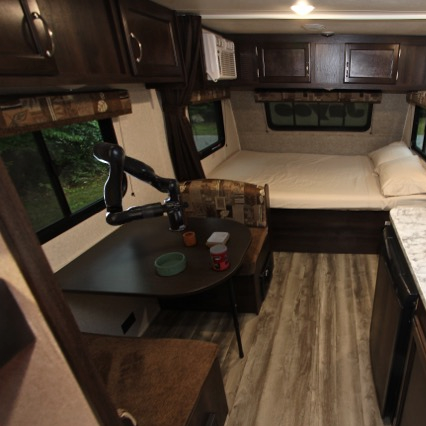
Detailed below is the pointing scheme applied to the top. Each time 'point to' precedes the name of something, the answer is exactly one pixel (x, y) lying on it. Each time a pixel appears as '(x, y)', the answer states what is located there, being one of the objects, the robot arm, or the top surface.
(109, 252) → the top surface
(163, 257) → the bowl
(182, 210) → the stick
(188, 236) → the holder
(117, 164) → the robot arm
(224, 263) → the canned food
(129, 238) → the top surface
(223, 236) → the soap dish
